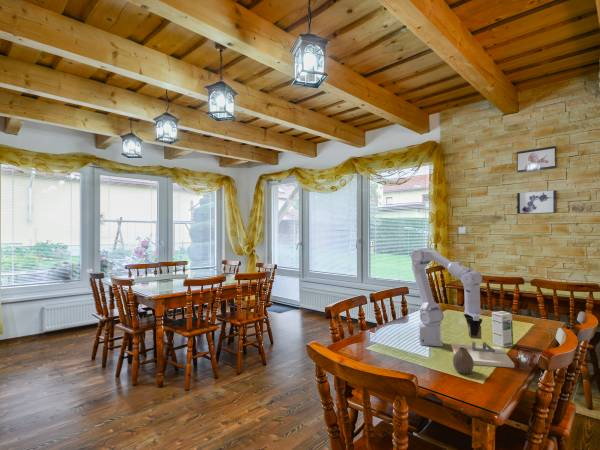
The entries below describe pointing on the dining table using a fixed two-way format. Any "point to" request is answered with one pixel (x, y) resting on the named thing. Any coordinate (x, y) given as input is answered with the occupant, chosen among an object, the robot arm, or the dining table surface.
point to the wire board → (486, 356)
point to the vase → (463, 361)
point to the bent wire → (483, 348)
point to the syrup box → (502, 328)
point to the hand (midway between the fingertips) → (473, 333)
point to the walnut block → (477, 335)
